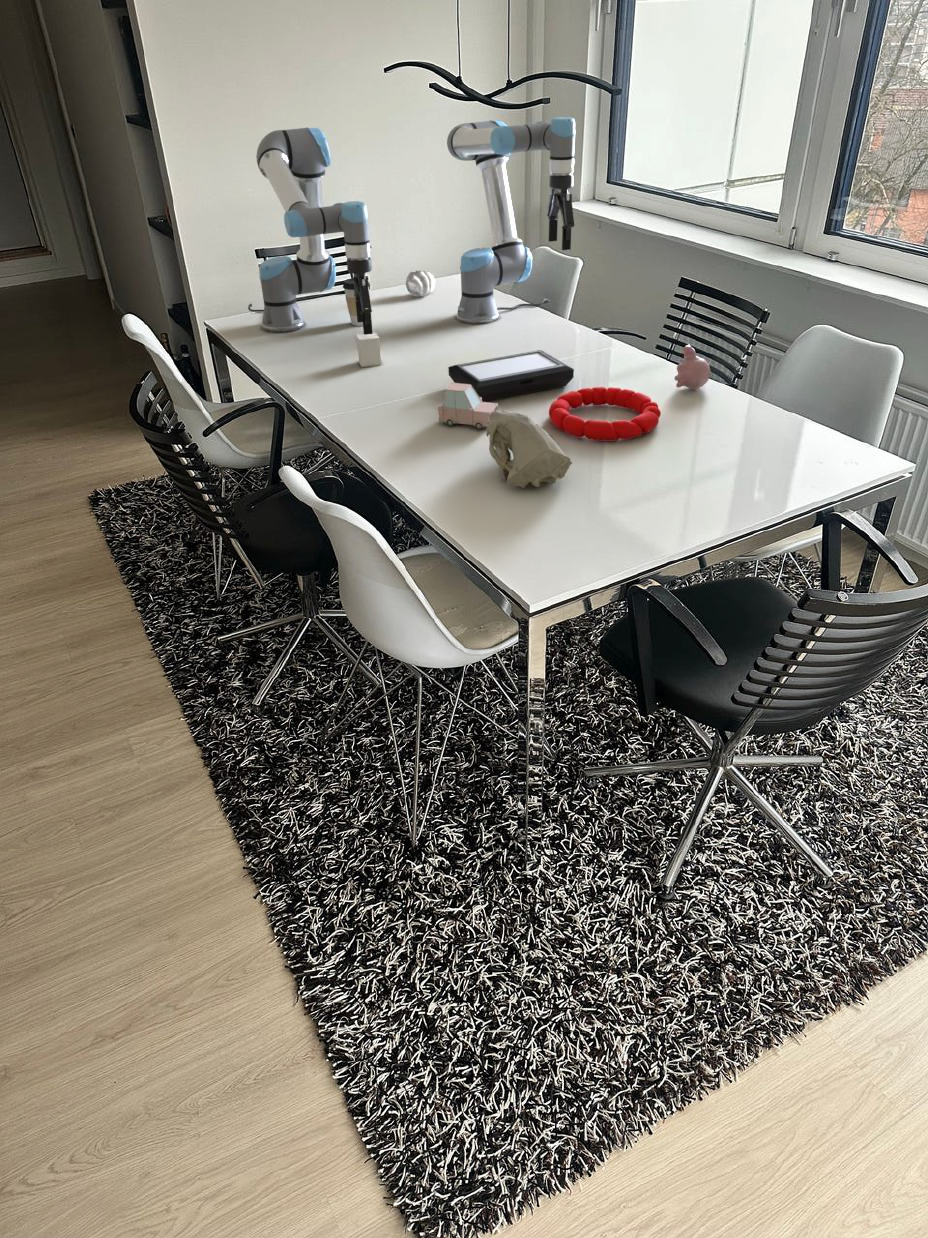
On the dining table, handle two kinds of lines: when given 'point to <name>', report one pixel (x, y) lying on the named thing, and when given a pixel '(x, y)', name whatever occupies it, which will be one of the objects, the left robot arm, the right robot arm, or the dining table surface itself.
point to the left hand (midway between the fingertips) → (364, 327)
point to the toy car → (465, 406)
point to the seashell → (420, 283)
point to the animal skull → (525, 450)
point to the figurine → (692, 370)
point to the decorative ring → (604, 428)
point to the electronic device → (512, 374)
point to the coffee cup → (351, 300)
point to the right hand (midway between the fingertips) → (559, 245)
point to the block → (368, 349)
